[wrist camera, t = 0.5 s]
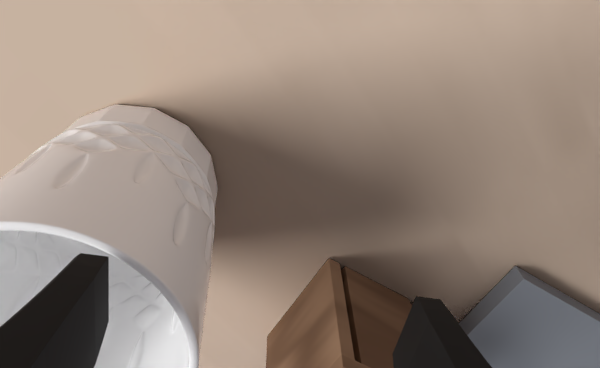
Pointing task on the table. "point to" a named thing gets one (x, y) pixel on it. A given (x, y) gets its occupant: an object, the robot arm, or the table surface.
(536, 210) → the table surface
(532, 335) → the post base
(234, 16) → the table surface
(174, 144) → the white cup
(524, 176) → the table surface
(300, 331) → the sliding lid crate
